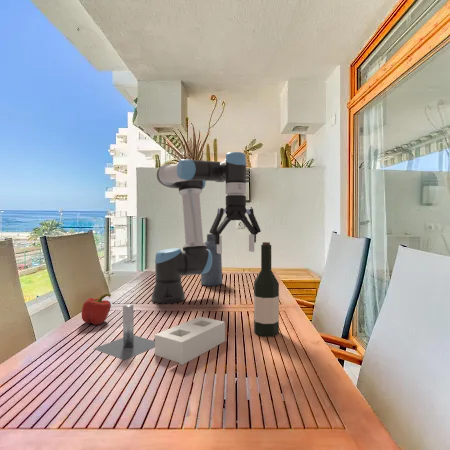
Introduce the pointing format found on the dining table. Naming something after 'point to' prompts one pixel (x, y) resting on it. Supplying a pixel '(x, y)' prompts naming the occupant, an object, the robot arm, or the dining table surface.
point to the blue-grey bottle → (213, 265)
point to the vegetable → (96, 310)
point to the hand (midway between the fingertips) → (235, 252)
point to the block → (189, 339)
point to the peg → (128, 326)
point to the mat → (126, 353)
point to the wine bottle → (266, 297)
